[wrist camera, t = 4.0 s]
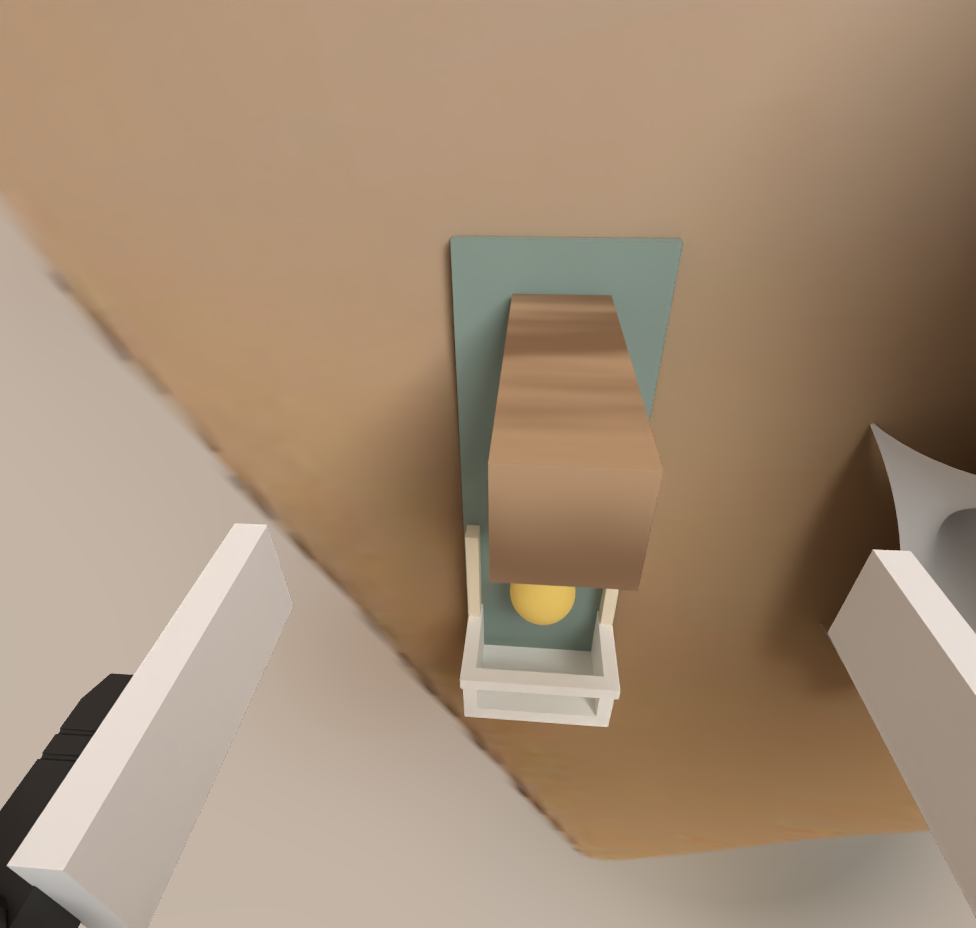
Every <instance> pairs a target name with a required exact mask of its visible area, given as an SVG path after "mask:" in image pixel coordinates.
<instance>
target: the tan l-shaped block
mask: <svg viewBox="0 0 976 928" xmlns="http://www.w3.org/2000/svg"><path fill="white" fill-rule="evenodd" d="M663 472H664V469H663V466H662V463H661V459H660V456H659V453H658V449H657V446H656V443H655V439H654V436H653V433H652V429H651V426H650V422H649V419H648V416H647V412H646V409H645V406H644V402H643V399H642V396H641V392H640V389H639V386H638V382H637V379H636V376H635V372H634V369H633V366H632V362H631V359H630V356H629V352H628V349H627V345H626V342H625V339H624V335H623V332H622V329H621V325H620V322H619V319H618V315H617V312H616V309H615V305H614V302H613V299H612V295H566V294H512V299H511V306H510V313H509V320H508V327H507V334H506V341H505V348H504V355H503V362H502V369H501V376H500V383H499V390H498V397H497V404H496V411H495V418H494V425H493V432H492V439H491V446H490V453H489V460H488V499H489V520H488V525H489V582H496V583H514V584H532V585H550V586H567V587H585V588H603V589H621V590H638V587H639V582H640V577H641V573H642V568H643V564H644V559H645V554H646V550H647V545H648V541H649V536H650V531H651V527H652V522H653V518H654V513H655V508H656V504H657V499H658V495H659V490H660V485H661V481H662V476H663Z"/></svg>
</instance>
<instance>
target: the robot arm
mask: <svg viewBox="0 0 976 928" xmlns="http://www.w3.org/2000/svg"><path fill="white" fill-rule="evenodd" d="M292 608H293V603H292V600H291V596H290V593H289V590H288V587H287V584H286V581H285V578H284V574H283V571H282V569H281V565H280V562H279V559H278V556H277V553H276V549H275V546H274V543H273V540H272V537H271V534H270V531H269V527H268V525H262V524H237V523H235V524H234V526H233V527H232V529H231V530H230V531H229V533H228V534H227V536H226V537H225V539H224V540H223V542H222V543H221V545H220V546H219V548H218V549H217V551H216V552H215V554H214V556H213V557H212V558H211V560H210V561H209V563H208V564H207V566H206V567H205V569H204V570H203V572H202V573H201V575H200V576H199V578H198V580H197V581H196V582H195V584H194V586H193V587H192V588H191V590H190V591H189V593H188V594H187V596H186V597H185V599H184V600H183V602H182V603H181V605H180V607H179V608H178V610H177V611H176V612H175V614H174V615H173V617H172V618H171V620H170V622H169V623H168V624H167V626H166V627H165V629H164V630H163V632H162V633H161V635H160V637H159V638H158V639H157V641H156V642H155V644H154V645H153V647H152V648H151V650H150V651H149V653H148V654H147V656H146V658H145V659H144V661H143V662H142V664H141V665H140V666H139V668H138V669H137V671H136V672H135V674H134V675H124V674H110V675H109V676H107V677H106V678H105V679H104V680H103V681H102V682H100V683H99V684H98V685H97V686H96V687H95V688H93V689H92V690H91V691H90V692H89V693H88V694H86V695H85V696H84V697H83V698H82V699H81V700H80V701H79V703H78V704H77V706H76V707H75V708H74V710H73V711H72V712H71V714H70V715H69V717H68V718H67V719H66V721H65V722H64V724H63V725H62V726H61V728H60V732H59V734H56V735H55V736H54V737H53V739H52V740H51V742H50V743H49V744H48V746H47V747H46V749H45V750H44V751H43V755H42V758H41V759H37V761H36V762H35V764H34V765H33V766H32V768H31V769H30V771H29V772H28V773H27V775H26V776H25V777H24V779H23V780H22V782H21V783H20V784H19V786H18V787H17V789H16V790H15V791H14V793H13V794H12V795H11V797H10V798H9V799H8V801H7V802H6V804H5V805H4V806H3V808H2V809H1V811H0V928H78V926H79V925H80V923H82V924H83V925H84V926H86V927H87V928H148V927H149V924H150V922H151V920H152V918H153V916H154V913H155V911H156V909H157V907H158V904H159V902H160V900H161V898H162V895H163V893H164V891H165V889H166V887H167V885H168V882H169V880H170V878H171V876H172V874H173V871H174V869H175V867H176V865H177V863H178V860H179V858H180V856H181V854H182V852H183V849H184V847H185V845H186V843H187V840H188V838H189V836H190V834H191V832H192V829H193V827H194V825H195V822H196V821H197V818H198V816H199V814H200V812H201V809H202V807H203V805H204V803H205V801H206V798H207V796H208V794H209V792H210V790H211V787H212V785H213V783H214V781H215V778H216V776H217V774H218V772H219V770H220V768H221V765H222V763H223V761H224V759H225V757H226V754H227V752H228V750H229V748H230V746H231V743H232V741H233V739H234V736H235V734H236V732H237V730H238V728H239V726H240V723H241V721H242V719H243V717H244V715H245V712H246V710H247V708H248V705H249V703H250V701H251V699H252V697H253V695H254V692H255V690H256V688H257V686H258V684H259V681H260V679H261V677H262V675H263V672H264V670H265V668H266V666H267V664H268V662H269V659H270V657H271V655H272V653H273V650H274V648H275V646H276V644H277V641H278V640H279V637H280V635H281V633H282V631H283V629H284V626H285V624H286V622H287V619H288V617H289V615H290V613H291V611H292ZM828 635H829V637H830V639H831V641H832V643H833V645H834V646H835V648H836V650H837V652H838V654H839V656H840V658H841V660H842V662H843V664H844V666H845V668H846V670H847V671H848V673H849V675H850V677H851V679H852V681H853V683H854V685H855V687H856V689H857V691H858V693H859V694H860V696H861V698H862V700H863V702H864V704H865V706H866V708H867V710H868V712H869V714H870V716H871V718H872V719H873V721H874V723H875V725H876V727H877V729H878V731H879V733H880V735H881V737H882V739H883V741H884V743H885V744H886V746H887V748H888V750H889V752H890V754H891V756H892V758H893V760H894V762H895V764H896V766H897V767H898V769H899V771H900V773H901V775H902V777H903V779H904V781H905V783H906V785H907V787H908V789H909V791H910V792H911V794H912V796H913V798H914V800H915V802H916V804H917V806H918V808H919V810H920V812H921V814H922V815H923V817H924V819H925V821H926V823H927V825H928V827H929V829H930V831H931V833H932V835H933V837H934V838H935V840H936V842H937V844H938V846H939V848H940V850H941V852H942V854H943V856H944V858H945V860H946V862H947V864H948V865H949V867H950V869H951V871H952V873H953V875H954V877H955V879H956V881H957V883H958V885H959V886H960V888H961V890H962V892H963V894H964V896H965V898H966V900H967V902H968V904H969V906H970V908H971V910H972V911H973V913H974V915H975V917H976V634H975V633H974V631H973V630H972V629H971V627H970V626H969V625H968V624H967V622H966V621H965V620H964V618H963V617H962V616H961V615H960V613H959V612H958V611H957V610H956V608H955V607H954V606H953V604H952V603H951V602H950V601H949V599H948V598H947V597H946V595H945V594H944V593H943V592H942V590H941V589H940V588H939V587H938V585H937V584H936V583H935V581H934V580H933V579H932V578H931V576H930V575H929V574H928V573H927V571H926V570H925V569H924V567H923V566H922V565H921V564H920V562H919V561H918V560H917V558H916V557H915V556H914V555H913V553H912V552H911V551H896V550H872V552H871V554H870V556H869V557H868V559H867V561H866V563H865V565H864V567H863V568H862V570H861V572H860V574H859V576H858V578H857V580H856V581H855V583H854V585H853V587H852V589H851V591H850V592H849V594H848V596H847V598H846V600H845V602H844V604H843V605H842V607H841V609H840V611H839V613H838V615H837V616H836V618H835V620H834V622H833V624H832V626H831V627H830V629H829V631H828Z"/></svg>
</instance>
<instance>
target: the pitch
mask: <svg viewBox="0 0 976 928" xmlns="http://www.w3.org/2000/svg"><path fill="white" fill-rule="evenodd" d="M450 244H451V266H452V287H453V309H454V330H455V352H456V373H457V395H458V416H459V438H460V459H461V481H462V502H463V524H464V545H465V567H466V588H467V610H468V617H469V616H472V617H480V614H481V605H482V604H483V616H484V645H500V646H515V647H531V648H546V649H562V650H577V651H591V648H592V642H593V635H594V629H595V623H596V617H597V611H599V615H600V624H603V625H612V624H613V619H614V614H615V608H616V603H617V598H618V592H619V589H603V588H585V587H575V590H576V591H575V600H574V604H573V606H572V608H571V610H570V611H569V613H568V614H567V615H566V616H565V617H564V618H563V619H561V620H560V621H558V622H556V623H553V624H550V625H537V624H534V623H531V622H529V621H527V620H525V619H524V618H523V617H521V616H520V615H519V613H518V612H517V611H516V610H515V608H514V606H513V604H512V601H511V597H510V585H511V583H496V582H489V525H488V520H489V499H488V460H489V453H490V446H491V439H492V432H493V425H494V418H495V411H496V404H497V397H498V390H499V383H500V376H501V369H502V362H503V355H504V348H505V341H506V334H507V327H508V320H509V313H510V306H511V299H512V294H566V295H612V299H613V302H614V305H615V309H616V312H617V315H618V319H619V322H620V325H621V329H622V332H623V335H624V339H625V342H626V345H627V349H628V352H629V356H630V359H631V362H632V366H633V369H634V372H635V376H636V379H637V382H638V386H639V389H640V392H641V396H642V399H643V402H644V406H645V409H646V412H647V416H648V419H649V422H650V417H651V411H652V406H653V401H654V395H655V390H656V384H657V379H658V374H659V368H660V363H661V358H662V352H663V347H664V342H665V336H666V331H667V326H668V320H669V315H670V309H671V304H672V299H673V293H674V288H675V283H676V277H677V272H678V267H679V261H680V256H681V251H682V245H683V241H682V240H681V239H680V238H604V237H508V236H452V237H451V239H450Z"/></svg>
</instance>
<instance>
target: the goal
mask: <svg viewBox="0 0 976 928" xmlns="http://www.w3.org/2000/svg"><path fill="white" fill-rule="evenodd" d="M460 688H462V689H463V698H464V714H465V717H479V718H492V719H505V720H519V721H532V722H546V723H559V724H573V725H586V726H600V727H608V725H609V720H610V716H611V711H612V707H613V702H614V699H618V700H619V695H620V683H619V675H618V667H617V659H616V651H615V643H614V635H613V626H612V625H603V624H600V615H599V611H597V617H596V623H595V629H594V635H593V642H592V648H591V651H577V650H562V649H546V648H531V647H515V646H500V645H484V616H483V604H482V605H481V614H480V617H472V616H469V617H468V624H467V632H466V639H465V646H464V653H463V660H462V668H461V675H460Z"/></svg>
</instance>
